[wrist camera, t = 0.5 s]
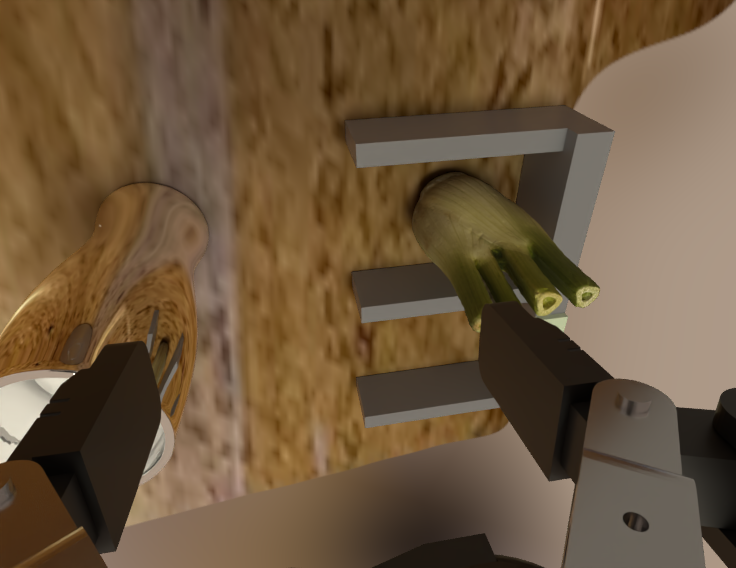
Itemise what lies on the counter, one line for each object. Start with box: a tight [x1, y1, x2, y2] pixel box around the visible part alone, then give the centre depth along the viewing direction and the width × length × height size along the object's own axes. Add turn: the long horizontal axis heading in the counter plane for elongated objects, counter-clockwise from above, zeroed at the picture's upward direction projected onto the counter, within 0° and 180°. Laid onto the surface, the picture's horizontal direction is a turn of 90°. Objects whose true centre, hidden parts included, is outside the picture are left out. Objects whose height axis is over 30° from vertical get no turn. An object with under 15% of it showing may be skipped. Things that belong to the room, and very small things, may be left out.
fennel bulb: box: [412, 172, 600, 332], centre depth 26 cm, size 6×5×12 cm
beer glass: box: [0, 183, 209, 486], centre depth 22 cm, size 7×7×15 cm
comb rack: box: [345, 105, 615, 428], centre depth 31 cm, size 21×13×5 cm, turn 1°
